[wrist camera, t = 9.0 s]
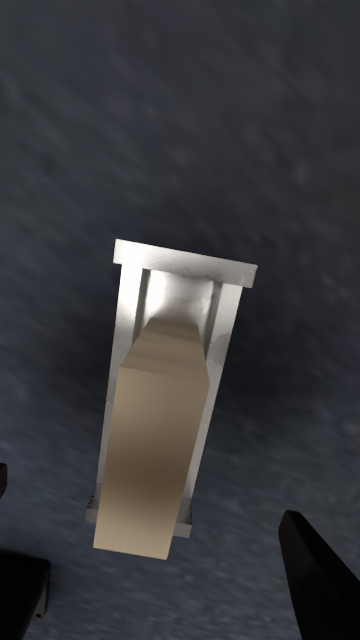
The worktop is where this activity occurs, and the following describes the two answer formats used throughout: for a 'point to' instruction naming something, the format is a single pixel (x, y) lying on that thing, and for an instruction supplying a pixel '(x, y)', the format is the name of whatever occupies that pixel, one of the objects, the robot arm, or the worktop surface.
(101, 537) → the door panel
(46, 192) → the worktop surface
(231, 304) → the bottom track
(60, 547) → the worktop surface
